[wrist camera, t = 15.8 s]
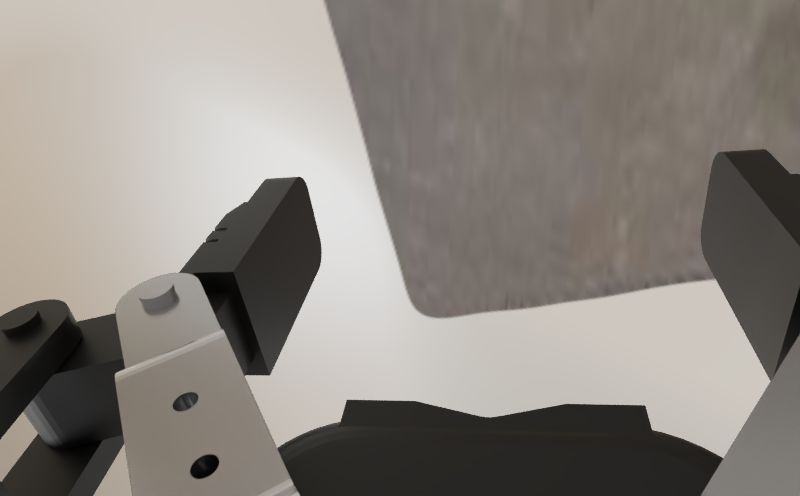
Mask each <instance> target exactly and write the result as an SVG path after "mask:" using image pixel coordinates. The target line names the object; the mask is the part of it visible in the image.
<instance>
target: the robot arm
mask: <svg viewBox="0 0 800 496" xmlns="http://www.w3.org/2000/svg"><path fill="white" fill-rule="evenodd" d="M701 244H702V251H703V255H704V257H705V260H706V262H707V263H708V265H709V267H710V269H711V271H712V273H713V275H714V276H715V278H716V280H717V282H718V284H719V286H720V288H721V289H722V291H723V293H724V295H725V297H726V299H727V301H728V302H729V304H730V306H731V308H732V310H733V312H734V314H735V316H736V317H737V319H738V321H739V323H740V325H741V326H742V329H743V330H744V332H745V334H746V336H747V338H748V340H749V342H750V343H751V345H752V347H753V349H754V351H755V353H756V354H757V356H758V358H759V360H760V362H761V364H762V366H763V368H764V369H765V371H766V373H767V375H768V377H769V379H770V381H771V382H770V384H769V385H768V387H767V388H766V390H765V392H764V393H763V395H762V397H761V398H760V400H759V401H758V403H757V405H756V406H755V408H754V410H753V411H752V413H751V415H750V416H749V418H748V419H747V421H746V423H745V424H744V426H743V427H742V429H741V431H740V432H739V434H738V436H737V437H736V439H735V441H734V442H733V444H732V445H731V447H730V449H729V450H728V452H727V454H726V455H725V457H724V458H722V457H720V456H718V455H716V454H714V453H712V452H710V451H709V450H706V449H705V448H703V447H701V446H698V445H696V444H693V443H691V442H689V441H686V440H684V439H681V438H678V437H675V436H672V435H669V434H666V433H662V432H657V431H653V430H652V429H651V425H650V421H649V418H648V414H647V410H646V407H645V406H641V405H639V406H638V405H586V404H564V405H559V406H553V407H548V408H543V409H537V410H531V411H526V412H521V413H515V414H510V415H505V416H499V417H492V418H489V417H486V418H485V417H479V416H475V415H471V414H467V413H463V412H459V411H454V410H450V409H446V408H442V407H437V406H433V405H429V404H424V403H420V402H416V401H377V400H376V401H375V400H347V402H346V405H345V409H344V412H343V416H342V419H341V422H338V423H333V424H330V425H326V426H323V427H320V428H317V429H314V430H311V431H309V432H306V433H304V434H302V435H300V436H298V437H296V438H294V439H292V440H290V441H288V442H286V443H285V444H283V445H281V446H280V447H278V448H277V447H276V445H275V443H274V440H273V438H272V436H271V434H270V432H269V429H268V427H267V425H266V423H265V420H264V419H263V416H262V414H261V412H260V409H259V407H258V405H257V403H256V401H255V398H254V396H253V394H252V392H251V389H250V387H249V385H248V383H247V381H246V379H245V375H270V374H271V371H272V369H273V367H274V365H275V363H276V361H277V359H278V357H279V354H280V352H281V350H282V348H283V346H284V344H285V341H286V339H287V337H288V335H289V333H290V331H291V328H292V326H293V324H294V322H295V319H296V318H297V315H298V313H299V311H300V309H301V307H302V304H303V302H304V300H305V298H306V296H307V294H308V291H309V289H310V287H311V285H312V282H313V281H314V278H315V276H316V274H317V272H318V270H319V267H320V263H321V242H320V237H319V233H318V229H317V225H316V221H315V217H314V213H313V209H312V205H311V201H310V197H309V192H308V188H307V186H306V183H305V181H304V180H303V179H302V178H301V177H292V178H275V179H266V180H265V181H264V182H263V183H262V184H261V186H260V187H259V188H258V190H257V191H256V192H255V193H254V195H253V196H252V197H251V199H250V200H249V201H248V202H244V203H243V204H241V205H240V206H239V207H237V208H235V209H234V210H232V211H231V212H229V213H228V214H226V215H225V217H224V218H223V219H222V220H221V221H220V223H219V224H218V225H217V226H216V228H215V231H212V233H211V234H210V235H209V236H208V237H207V239H206V242H205V243H203V244H202V245H201V246H200V247H199V249H198V250H197V251H196V253H195V254H194V255H193V256H192V257H191V258H190V260H189V261H188V262H187V263H186V265H185V266H184V267H183V268H182V270H181V271H180V272H179V273H171V274H166V275H161V276H158V277H155V278H152V279H150V280H147V281H145V282H143V283H141V284H139V285H137V286H136V287H134V288H133V289H131V290H130V291H128V292H127V293H126V294H125V295H124V296H123V297H122V298H121V299H120V301H119V302H118V304H117V306H116V309H115V314H110V315H106V316H101V317H97V318H92V319H88V320H84V321H79V322H76V320H75V318H74V316H73V315H72V313H71V311H70V309H69V307H68V306H67V304H66V303H64V302H63V301H60V300H42V301H37V302H33V303H29V304H26V305H24V306H21V307H18V308H16V309H14V310H12V311H10V312H8V313H6V314H4V315H2V316H1V317H0V439H1V437H2V436H3V435H4V434H5V433H6V431H7V430H8V429H9V428H10V426H11V425H12V424H13V423H14V422H15V421H16V419H17V418H18V417H19V416H20V414H21V413H22V412H24V414H25V415H26V416H27V418H28V419H29V421H30V422H31V423H32V425H33V426H34V428H35V429H36V430H37V432H38V435H37V436H36V437H35V439H34V440H33V441H32V443H31V444H30V445H29V446H28V448H27V449H26V450H25V452H24V453H23V454H22V456H21V457H20V458H19V460H18V461H17V462H16V464H15V465H14V466H13V467H12V469H11V470H10V472H9V473H8V474H7V476H6V477H5V478H4V480H3V481H2V482H0V496H93V495H94V493H95V491H96V489H97V488H98V486H99V485H100V483H101V481H102V480H103V478H104V476H105V475H106V473H107V471H108V469H109V468H110V466H111V465H112V463H113V461H114V460H115V458H116V456H117V454H118V453H119V451H120V449H121V448H122V446H123V444H125V451H126V457H127V463H128V471H129V478H130V484H131V491H132V496H800V174H790V173H789V172H788V171H787V170H786V169H785V168H784V167H783V166H782V165H781V164H780V163H779V162H778V161H777V160H776V159H775V158H774V157H773V156H772V155H771V154H770V153H769V152H768V151H767V150H765V149H762V150H746V151H730V152H719V153H718V154H717V155H716V156H715V158H714V160H713V164H712V168H711V174H710V180H709V186H708V191H707V197H706V203H705V209H704V215H703V221H702V227H701Z"/></svg>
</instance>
